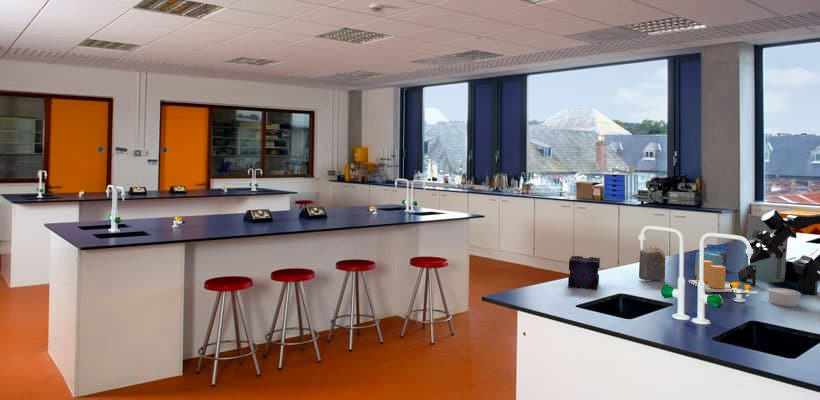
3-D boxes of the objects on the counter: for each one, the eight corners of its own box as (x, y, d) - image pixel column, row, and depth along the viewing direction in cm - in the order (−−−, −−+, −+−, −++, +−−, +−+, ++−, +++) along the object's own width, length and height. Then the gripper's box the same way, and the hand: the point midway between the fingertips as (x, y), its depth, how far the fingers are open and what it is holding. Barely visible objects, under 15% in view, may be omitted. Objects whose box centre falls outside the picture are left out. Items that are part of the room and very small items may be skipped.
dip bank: (725, 283, 282) (725, 280, 282) (748, 293, 263) (748, 290, 263) (688, 282, 282) (688, 279, 282) (708, 292, 263) (708, 289, 263)
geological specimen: (646, 282, 281) (647, 249, 280) (637, 279, 287) (638, 247, 285) (665, 281, 284) (667, 248, 283) (656, 278, 290) (657, 246, 289)
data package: (721, 280, 289) (723, 255, 288) (714, 281, 287) (715, 255, 286) (701, 275, 300) (702, 251, 299) (694, 275, 298) (695, 251, 297)
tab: (707, 280, 280) (708, 260, 280) (711, 282, 277) (713, 262, 276) (696, 279, 281) (697, 260, 280) (700, 281, 277) (701, 261, 276)
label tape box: (707, 269, 317) (708, 245, 316) (704, 267, 321) (706, 244, 320) (725, 270, 315) (727, 246, 314) (723, 268, 319) (724, 244, 318)
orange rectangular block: (719, 286, 269) (721, 265, 268) (724, 288, 265) (725, 267, 264) (708, 285, 269) (709, 265, 268) (712, 287, 265) (714, 267, 264)
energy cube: (567, 287, 267) (569, 259, 266) (570, 282, 278) (572, 255, 277) (596, 290, 263) (598, 262, 262) (598, 284, 274) (599, 257, 273)
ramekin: (796, 309, 239) (797, 295, 238) (764, 303, 246) (765, 290, 246) (802, 304, 247) (803, 291, 247) (770, 299, 255) (771, 286, 254)
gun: (744, 292, 290) (741, 272, 294) (760, 283, 275) (756, 262, 279) (738, 292, 291) (735, 271, 294) (753, 283, 276) (750, 261, 279)
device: (784, 282, 289) (789, 218, 286) (771, 282, 287) (776, 218, 284) (756, 274, 305) (760, 214, 302) (743, 275, 303) (747, 214, 300)
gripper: (753, 221, 273) (726, 245, 274) (778, 226, 255) (749, 252, 256) (770, 239, 274) (743, 263, 275) (796, 246, 255) (767, 271, 256)
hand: (750, 262), depth 266 cm, fingers closed
